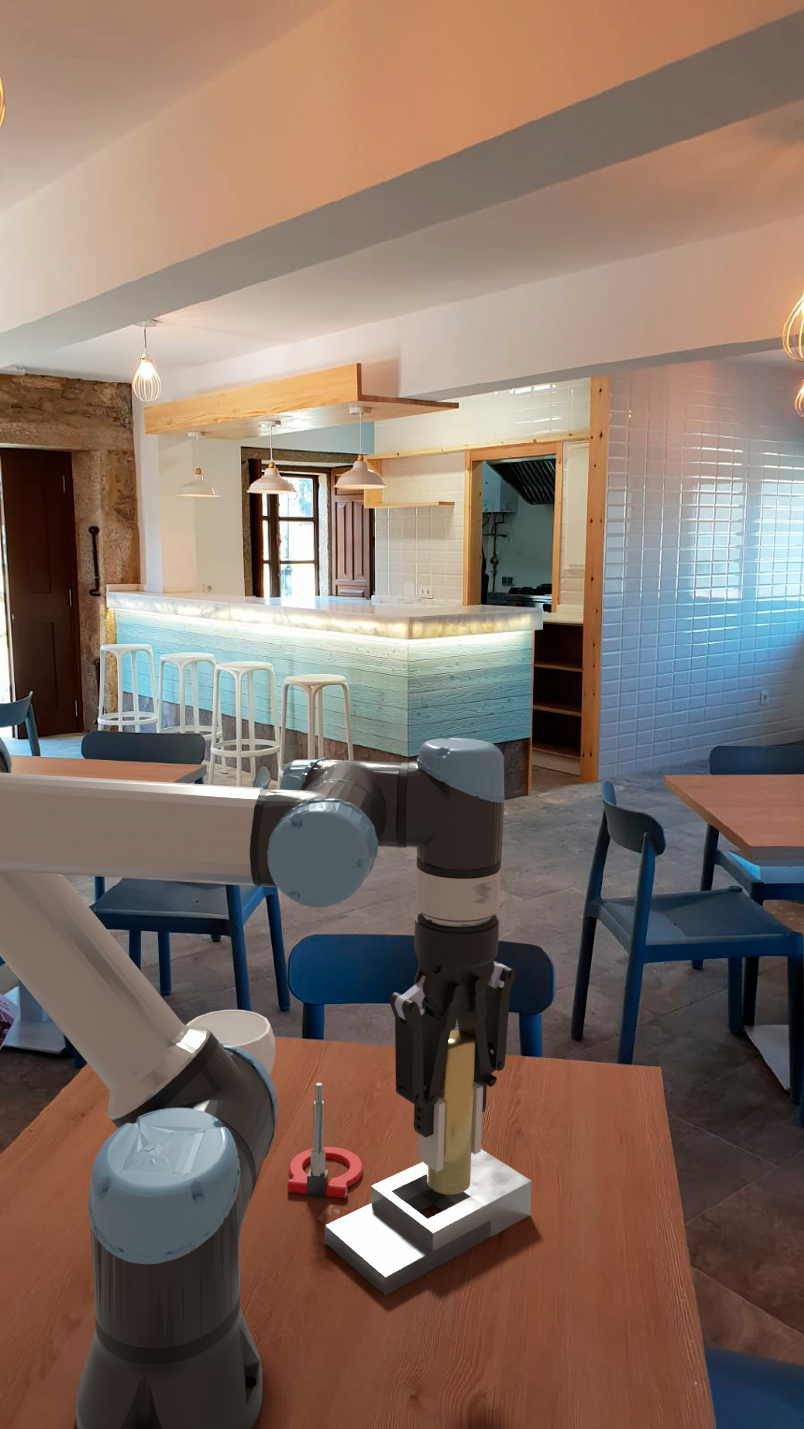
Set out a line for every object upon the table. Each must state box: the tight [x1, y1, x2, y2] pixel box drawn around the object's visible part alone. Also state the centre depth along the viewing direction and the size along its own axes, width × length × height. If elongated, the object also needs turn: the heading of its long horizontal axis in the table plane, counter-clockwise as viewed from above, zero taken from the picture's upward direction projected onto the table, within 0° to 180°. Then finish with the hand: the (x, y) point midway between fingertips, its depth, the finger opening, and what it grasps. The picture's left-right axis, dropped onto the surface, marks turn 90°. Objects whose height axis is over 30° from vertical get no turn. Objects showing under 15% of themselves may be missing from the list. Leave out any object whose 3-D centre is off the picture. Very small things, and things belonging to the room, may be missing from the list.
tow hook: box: [287, 1082, 364, 1199], centre depth 119 cm, size 8×13×9 cm
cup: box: [185, 1009, 276, 1076], centre depth 136 cm, size 12×12×10 cm
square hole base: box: [324, 1148, 532, 1297], centre depth 110 cm, size 20×10×4 cm, turn 129°
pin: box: [427, 1029, 475, 1194], centre depth 96 cm, size 4×4×14 cm
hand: (449, 1154), depth 97 cm, fingers closed on pin, 4 cm apart
